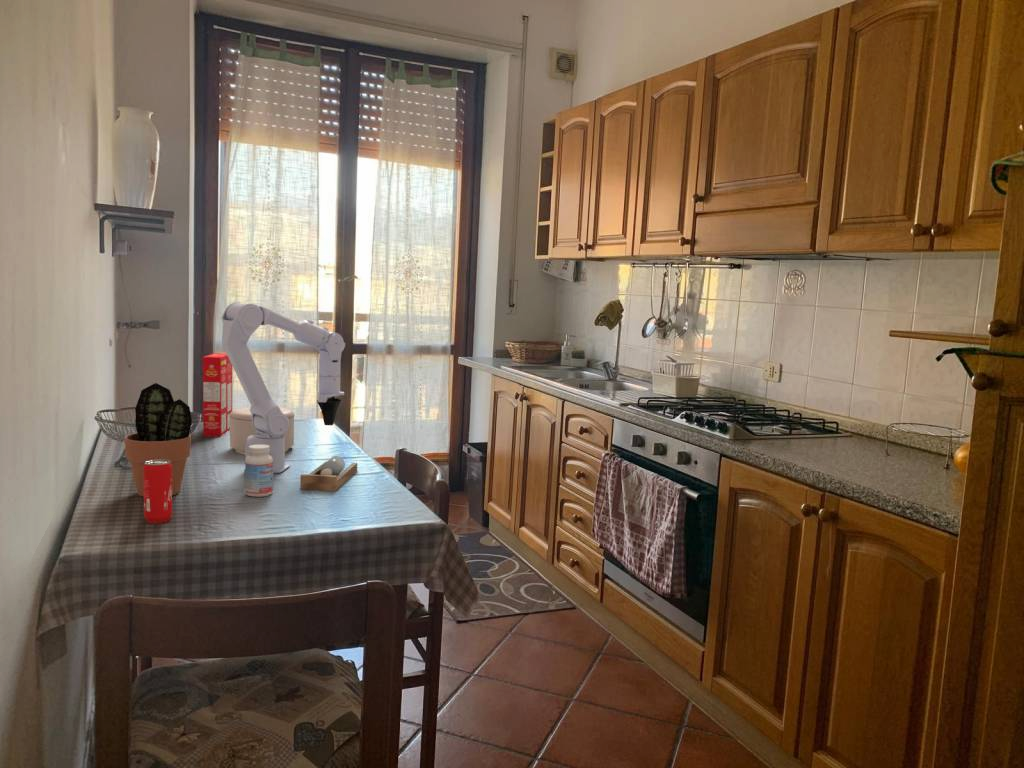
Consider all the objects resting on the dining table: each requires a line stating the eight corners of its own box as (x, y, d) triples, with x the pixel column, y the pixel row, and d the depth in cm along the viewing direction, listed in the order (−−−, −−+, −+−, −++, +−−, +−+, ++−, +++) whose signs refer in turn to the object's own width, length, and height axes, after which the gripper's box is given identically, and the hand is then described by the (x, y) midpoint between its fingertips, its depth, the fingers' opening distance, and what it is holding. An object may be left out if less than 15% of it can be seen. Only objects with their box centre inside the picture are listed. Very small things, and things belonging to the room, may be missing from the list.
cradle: (300, 489, 183) (300, 475, 183) (325, 469, 204) (325, 456, 204) (335, 491, 183) (335, 476, 182) (357, 471, 204) (357, 458, 203)
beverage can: (149, 516, 158) (149, 458, 156) (176, 516, 158) (175, 459, 157) (139, 523, 152) (138, 464, 151) (166, 524, 153) (166, 464, 151)
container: (302, 453, 224) (303, 413, 222) (239, 458, 213) (239, 416, 212) (283, 441, 238) (283, 404, 237) (222, 446, 228) (222, 407, 227)
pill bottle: (264, 498, 174) (264, 449, 173) (239, 496, 175) (239, 447, 174) (277, 492, 180) (278, 444, 179) (253, 489, 181) (254, 442, 180)
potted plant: (126, 503, 166) (124, 388, 163) (124, 487, 178) (123, 380, 175) (194, 497, 173) (193, 386, 170) (188, 483, 185) (187, 379, 182)
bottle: (327, 472, 199) (316, 482, 188) (328, 455, 198) (317, 465, 188) (344, 473, 199) (334, 484, 188) (345, 456, 198) (335, 466, 188)
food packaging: (216, 428, 257) (215, 353, 254) (232, 428, 257) (232, 353, 254) (203, 436, 242) (202, 356, 239) (220, 436, 243) (220, 357, 240)
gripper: (337, 379, 203) (336, 430, 204) (350, 373, 217) (350, 421, 219) (310, 378, 203) (310, 428, 205) (326, 372, 218) (325, 420, 219)
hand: (328, 424), depth 212 cm, fingers closed
